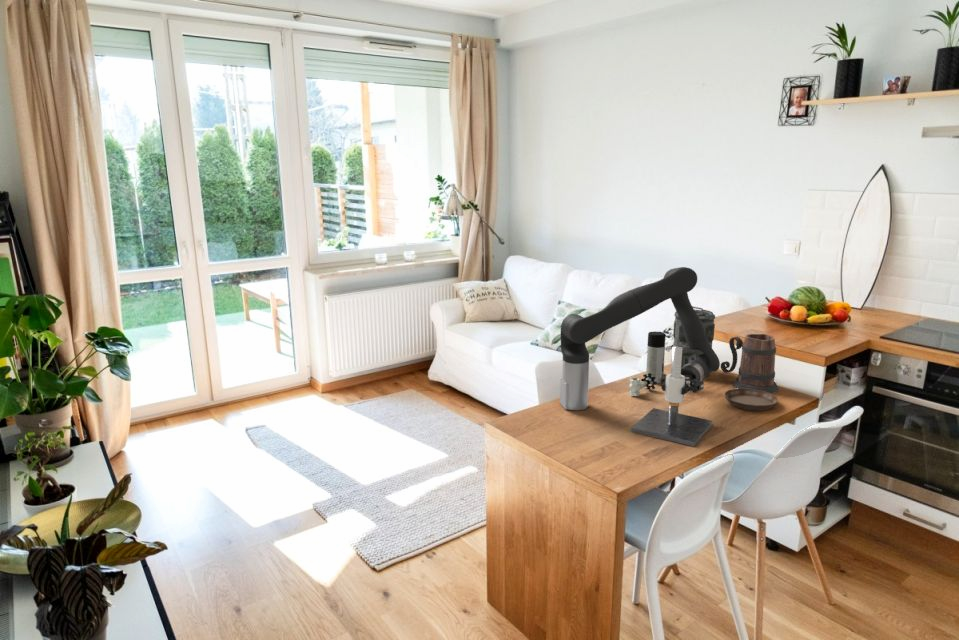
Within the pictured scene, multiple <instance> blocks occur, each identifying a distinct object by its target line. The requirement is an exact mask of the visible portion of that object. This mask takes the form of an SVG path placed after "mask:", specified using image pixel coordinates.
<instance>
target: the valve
mask: <svg viewBox="0 0 959 640" xmlns="http://www.w3.org/2000/svg"><path fill="white" fill-rule="evenodd" d="M642 376H643V378H641V379H640V378H639V377H631V378H629V384H628V389H629V391H628V392H629V393H628V395H629V396H630V397H631V396H638V397H640V396H639V395H640V393H641V390H643V388H644V387H646V390H647V389H650V390H655V389H656V386H657V385H658V384H657V382H655V381H654V379H656V377H655V376H654V377H651V373H649V374H648V376H647V375H646V373H645V374H643V375H642ZM646 378H651V379H652V380H650V379H649V380H646ZM651 382H653V383H651Z"/></svg>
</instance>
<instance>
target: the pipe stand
mask: <svg viewBox="0 0 959 640" xmlns="http://www.w3.org/2000/svg"><path fill="white" fill-rule="evenodd" d="M672 346H673V347H672V348H671V363H670V364H671V365H670V374H671V378H680V377H681V361H682V347H681V346H674V345H672ZM679 407H680V403H671V402H668V410H665V409H664V410H663V409H660V408H655V407H654V408H653V407H652V409H651V410H650V411H648V412H647V413H646V414H645V415H644V416H643V417H641V418H640V419H639V420H638V421H637V422H636V423H634V424H633V425H632V426H631V430H630V432H632V433H636V434H639V435H644V436H647V437H652V438H656V439H661V440H664V441H668V442H669V441H670V442H673V443H678V444H681V445H686V446H690V447H695V446H696V445H697V444H698V443H699V441H701V439H702V438H703V437H704V436H705V434H707V432H708V431H709V430H710V429H711V427H712V426H714V425H713V423H714V420H711V419H706V418H703V417H702V418H701V417H698V416H697V417H696V416H693V415H688V414H684V413H679Z"/></svg>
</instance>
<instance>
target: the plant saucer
mask: <svg viewBox="0 0 959 640" xmlns="http://www.w3.org/2000/svg"><path fill="white" fill-rule="evenodd" d="M723 395H724V397H725V399H726V400H727V402H728V403H729V404H731V405H732V406H734V407H735V406H736V407H735V408H739V409H742V410H747V411H756V412H757V411H758V412H759V411H766V410H770V409H772V408H773V407H774V406H775V405H776V404H777V403H778V401H779V399H778V397H777V396H776V395H775V394H774V393H768V392H765V391H761V390H755V389H737V388H732V389H728V390H726V391H725V392H724V394H723Z"/></svg>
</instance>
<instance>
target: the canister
mask: <svg viewBox="0 0 959 640" xmlns="http://www.w3.org/2000/svg"><path fill="white" fill-rule="evenodd" d="M692 307H693V309H694V310H695V312H696V313H697V315H698V316H699V318H700V320H701V322H702V324H703V327H704V330H705V333H706V337H707V340H708V342H709V344H710V346H711V347H712V348H713V341H714V339H715V338H714V337H715V326H716V324H715V319H716V315H715V314H714V313H713V311H710V310H707V309H703V308H702V307H698V306H693V305H692ZM674 319H675V320H674V321H673V333H672V335H673V336H672V337H673V345H672V347H673V346H681V347H682V361H681V368H682V367H683V366H684V365H686V364H688V361H689V358H690V357H692V356H694V355H699V354H704V353H703V352H702V351H701V350H694V349H690V348H689V347H688V344H687V341H686V338H685V334H684V331H683V327H682V325H681V322H680V319H679V316H678V314H677V312H676V311H675V312H674ZM711 373H712V372H710V373H707V374H706V375H705V377H708V376H710V375H711ZM705 377H704V378H705Z"/></svg>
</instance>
